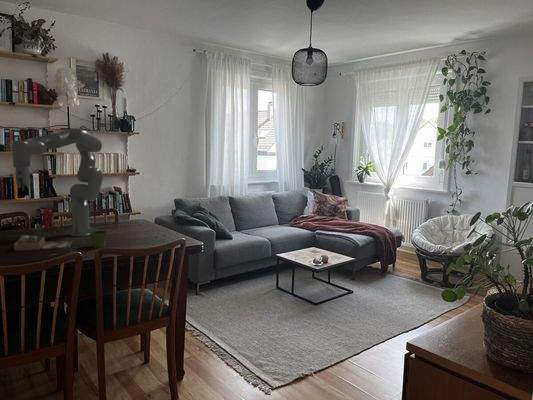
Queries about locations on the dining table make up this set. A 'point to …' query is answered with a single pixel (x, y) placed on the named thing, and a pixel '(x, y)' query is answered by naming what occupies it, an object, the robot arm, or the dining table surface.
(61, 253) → the dining table surface
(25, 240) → the pebble grey
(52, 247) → the birch tray
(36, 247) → the brown shallow rectangular tray
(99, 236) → the plant pot
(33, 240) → the pebble dark
